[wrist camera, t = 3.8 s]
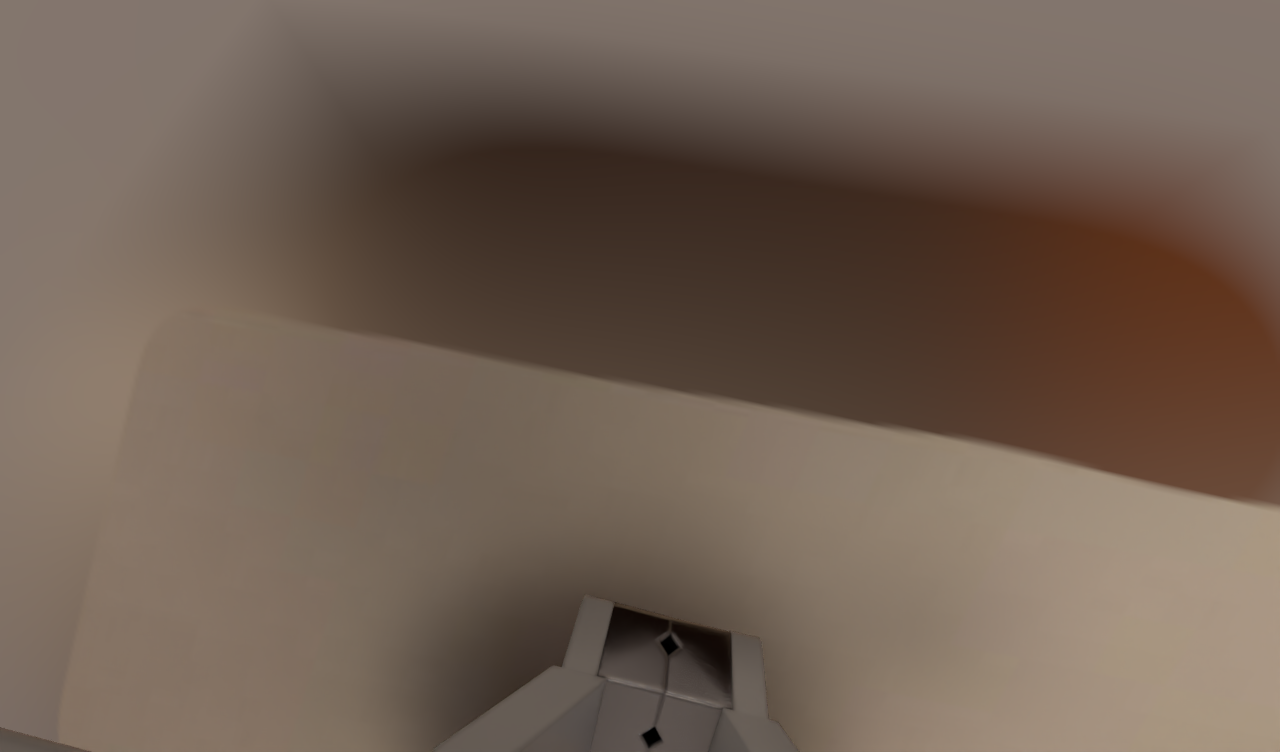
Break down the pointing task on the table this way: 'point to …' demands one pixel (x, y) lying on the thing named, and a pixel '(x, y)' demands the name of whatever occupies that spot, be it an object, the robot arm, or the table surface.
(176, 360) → the table surface
